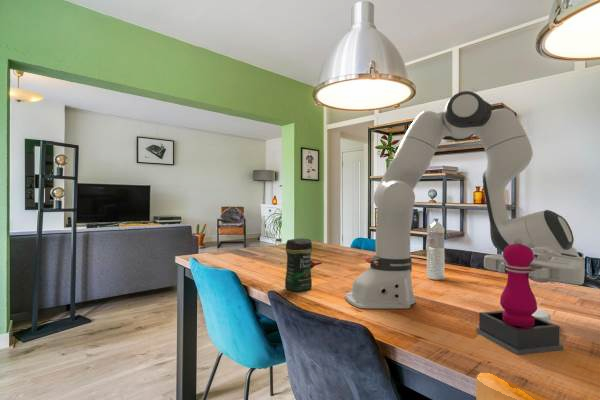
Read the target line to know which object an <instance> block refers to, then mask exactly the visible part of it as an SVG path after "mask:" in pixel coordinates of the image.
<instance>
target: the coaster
mask: <svg viewBox="0 0 600 400" xmlns="http://www.w3.org/2000/svg"><path fill="white" fill-rule="evenodd" d="M532 316H534V317H537V318H540V319H542V320H545V321H547V322H550V323H552V315H551V313H549V312H548V311H546V310H544V309H542V308H538V307H537V310H536V312H535V313H533V314H532Z"/></svg>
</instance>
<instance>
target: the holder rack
mask: <svg viewBox="0 0 600 400" xmlns="http://www.w3.org/2000/svg"><path fill="white" fill-rule="evenodd" d="M504 311H505V310H504V309H503V310H494V311H482V312H479V316H478V318H479V320H478V321H479V322H478V323H479V324H478V326H479V327H475V332H476V333H477V334H479V335H481V336H482V337H484V338H486V339H488V340H490V341H492V342H493V343H495V344H497V345H499V346H501V347H503V348H504V349H506V350H508V351H510V352H511V353H514V354H515V355H517V356H519V355H528V354H537V353H546V352H555V351H563V350H564V348H565V347H564V344H561V342H560V328H561V327H560V326H559V325H557V324H554V323H552V322H551V323H550V322H547V321H545V320H542V319H540V318H537V317H534V316H533V317H534V318H535V325H534V326H533V327H518V326H513V325H510V324H508V323H506V322H504V321H503V312H504Z"/></svg>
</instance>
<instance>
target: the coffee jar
mask: <svg viewBox="0 0 600 400" xmlns="http://www.w3.org/2000/svg"><path fill="white" fill-rule="evenodd" d="M285 244H286V245H285V253H286V272H285V282H284V286H285V289H286V290H287V291H289V292H291V291H292V292H303V291H304V292H305V291H308V290H311V289H312V283H313V282H312V280H313V279H312V272H311V271H312V269H311V266H310V260H311V256H312V251H313V245H312V244H313V243H312V240H311V239H309V238H292V239H287V241H286V243H285Z"/></svg>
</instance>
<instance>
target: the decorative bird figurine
mask: <svg viewBox="0 0 600 400" xmlns="http://www.w3.org/2000/svg"><path fill="white" fill-rule="evenodd" d="M322 264H323V262H320V261H318V262H315V261H313V260H312V259H310V266H311V270H312V269H314V267H315V266H318V265H322Z"/></svg>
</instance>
